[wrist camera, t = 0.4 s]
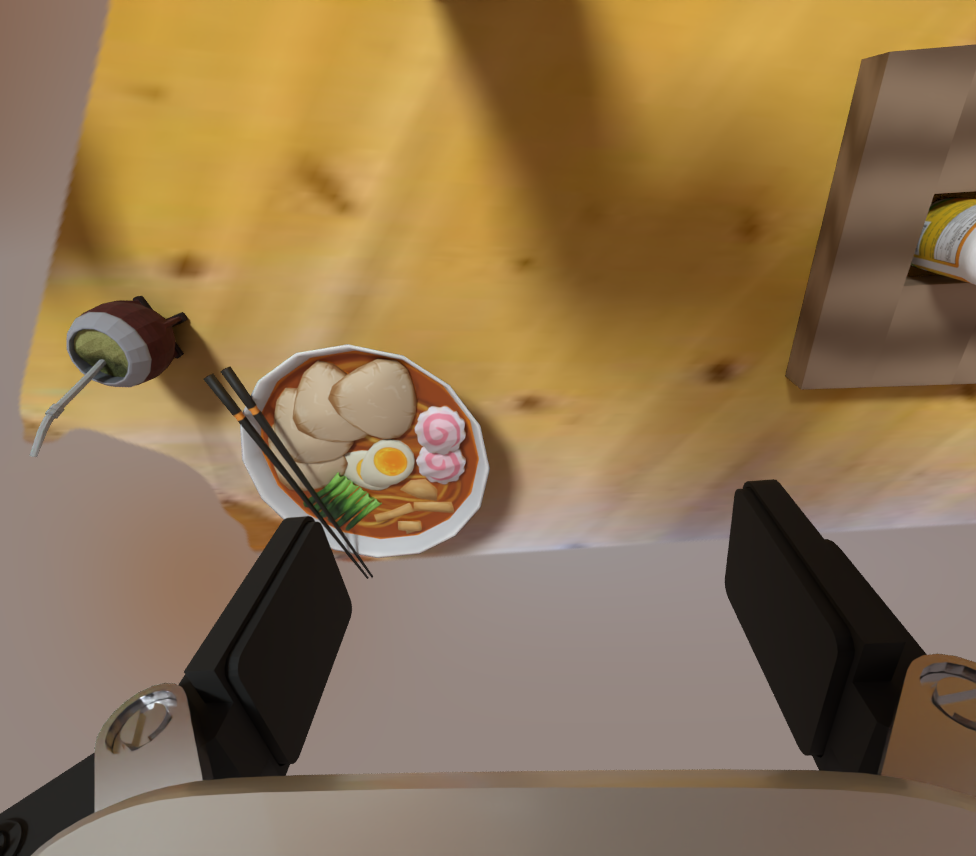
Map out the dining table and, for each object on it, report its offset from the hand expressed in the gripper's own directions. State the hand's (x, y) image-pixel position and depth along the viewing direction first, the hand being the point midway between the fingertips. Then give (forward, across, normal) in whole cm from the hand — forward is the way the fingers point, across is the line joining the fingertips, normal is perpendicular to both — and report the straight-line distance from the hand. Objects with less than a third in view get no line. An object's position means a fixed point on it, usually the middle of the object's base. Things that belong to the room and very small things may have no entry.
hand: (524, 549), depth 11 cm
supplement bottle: (+36, -33, +2) cm, 49 cm away
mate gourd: (+36, +35, +2) cm, 50 cm away
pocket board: (+36, -33, +2) cm, 49 cm away
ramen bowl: (+36, +16, +14) cm, 42 cm away
